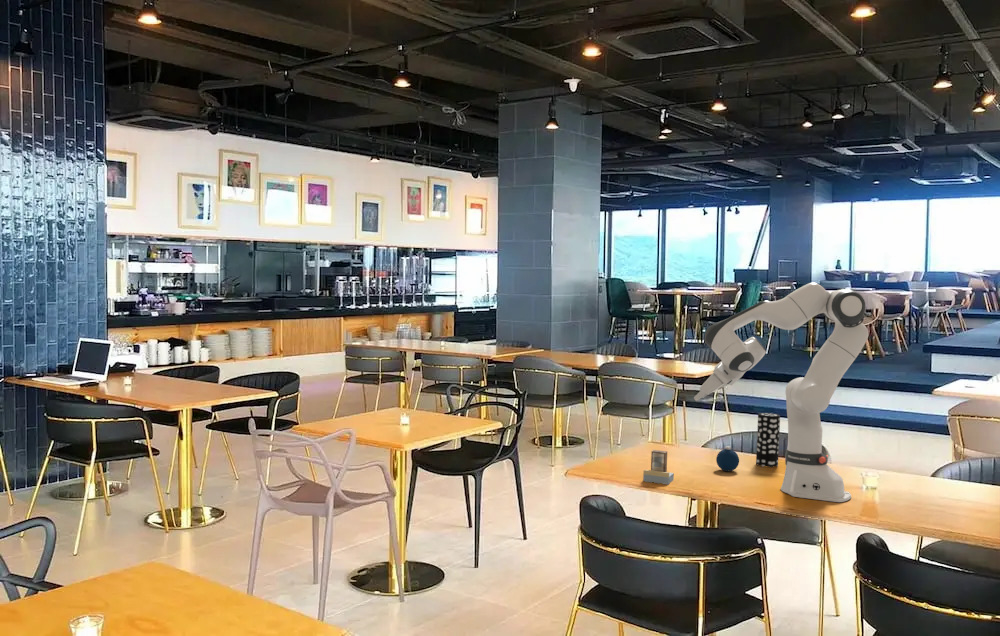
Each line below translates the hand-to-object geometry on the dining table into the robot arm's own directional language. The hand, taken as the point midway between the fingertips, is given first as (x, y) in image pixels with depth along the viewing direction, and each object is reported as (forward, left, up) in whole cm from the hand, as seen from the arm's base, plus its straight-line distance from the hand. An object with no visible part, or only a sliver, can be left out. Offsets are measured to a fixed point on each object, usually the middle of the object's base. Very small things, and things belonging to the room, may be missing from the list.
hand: (698, 398), depth 304 cm
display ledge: (+8, +13, -29) cm, 33 cm away
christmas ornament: (-5, -20, -30) cm, 36 cm away
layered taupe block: (+8, +13, -27) cm, 31 cm away
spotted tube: (-13, -42, -30) cm, 53 cm away
